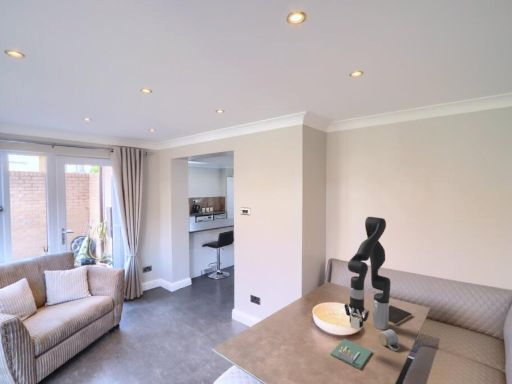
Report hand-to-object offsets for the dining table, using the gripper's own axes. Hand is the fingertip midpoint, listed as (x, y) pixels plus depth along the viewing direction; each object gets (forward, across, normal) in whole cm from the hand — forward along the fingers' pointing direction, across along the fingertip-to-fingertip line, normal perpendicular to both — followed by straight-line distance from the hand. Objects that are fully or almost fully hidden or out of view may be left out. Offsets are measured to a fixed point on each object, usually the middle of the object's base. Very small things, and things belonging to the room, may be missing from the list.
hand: (356, 325), depth 145 cm
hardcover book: (+14, -5, -55) cm, 57 cm away
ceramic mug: (+14, -14, -17) cm, 26 cm away
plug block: (+1, 0, 0) cm, 1 cm away
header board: (+14, 0, +6) cm, 15 cm away
